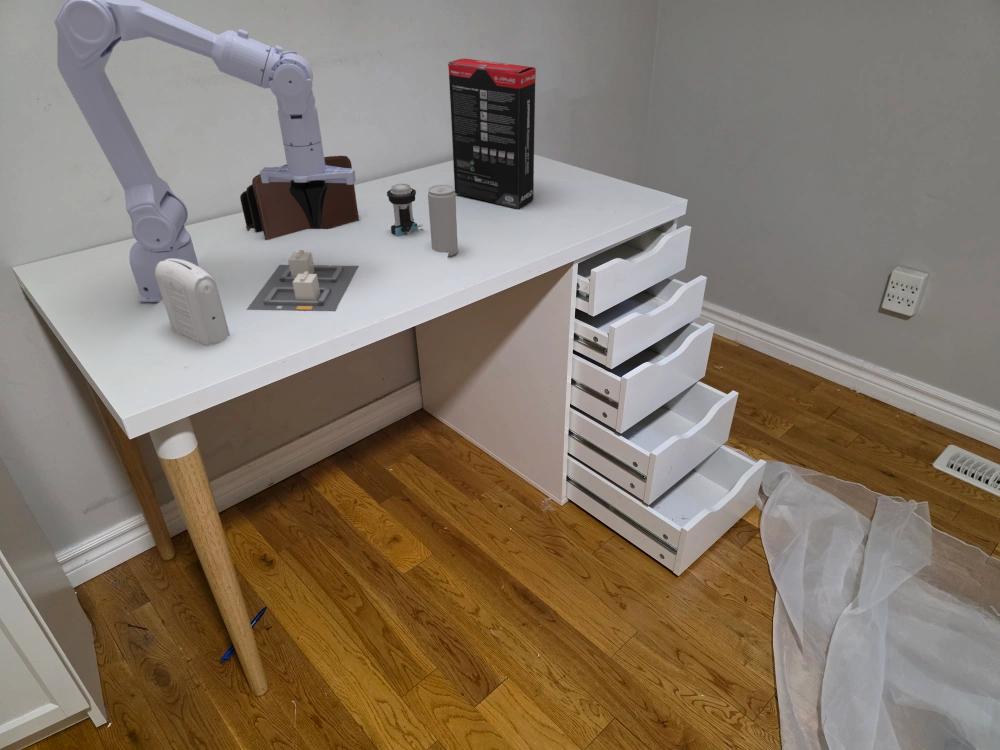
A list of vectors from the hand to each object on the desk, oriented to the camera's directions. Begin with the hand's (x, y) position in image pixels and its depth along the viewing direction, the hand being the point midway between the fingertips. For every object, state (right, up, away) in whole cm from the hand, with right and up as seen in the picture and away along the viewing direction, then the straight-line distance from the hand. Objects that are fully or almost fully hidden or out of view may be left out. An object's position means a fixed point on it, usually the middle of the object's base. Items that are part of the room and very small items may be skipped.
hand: (316, 225), depth 113 cm
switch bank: (-2, -11, +2) cm, 11 cm away
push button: (+12, +2, +20) cm, 24 cm away
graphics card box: (+29, +14, +37) cm, 48 cm away
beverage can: (+20, -2, +14) cm, 24 cm away
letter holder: (-9, +5, +26) cm, 28 cm away
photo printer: (-14, -19, -10) cm, 26 cm away
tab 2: (-3, -7, +4) cm, 9 cm away
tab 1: (-1, -12, -3) cm, 12 cm away
